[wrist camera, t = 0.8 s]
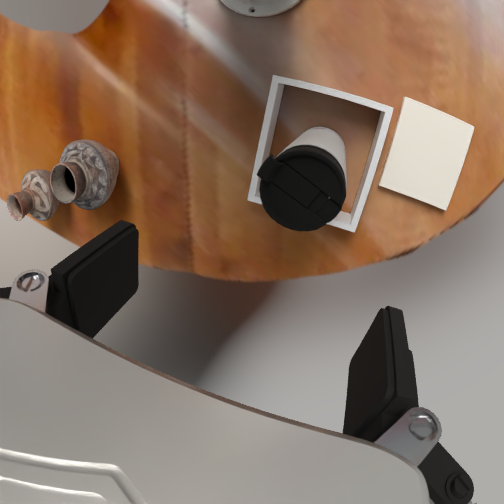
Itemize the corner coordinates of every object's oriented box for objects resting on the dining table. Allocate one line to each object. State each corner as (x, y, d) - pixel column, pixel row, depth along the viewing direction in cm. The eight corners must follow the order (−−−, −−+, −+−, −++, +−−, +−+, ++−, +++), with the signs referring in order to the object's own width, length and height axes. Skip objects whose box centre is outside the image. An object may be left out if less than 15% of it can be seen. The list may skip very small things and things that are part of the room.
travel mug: (313, 114, 37) (287, 128, 20) (355, 147, 37) (365, 191, 20) (285, 151, 40) (237, 197, 23) (325, 183, 41) (308, 252, 24)
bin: (279, 77, 36) (273, 74, 32) (388, 107, 34) (393, 108, 30) (255, 191, 44) (247, 200, 40) (354, 220, 42) (354, 232, 38)
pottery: (38, 167, 53) (-6, 186, 43) (121, 123, 44) (67, 136, 34) (56, 216, 57) (14, 241, 47) (142, 188, 49) (94, 216, 38)
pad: (403, 96, 32) (405, 96, 32) (471, 126, 31) (474, 126, 30) (378, 183, 39) (379, 185, 38) (443, 208, 37) (445, 210, 36)
